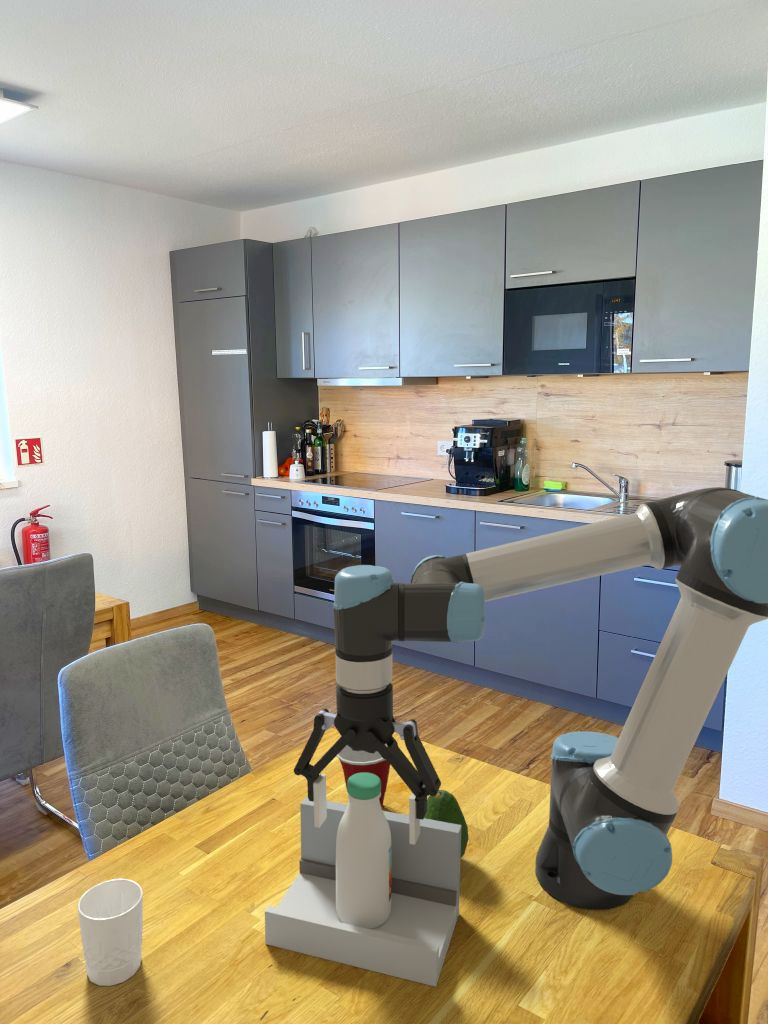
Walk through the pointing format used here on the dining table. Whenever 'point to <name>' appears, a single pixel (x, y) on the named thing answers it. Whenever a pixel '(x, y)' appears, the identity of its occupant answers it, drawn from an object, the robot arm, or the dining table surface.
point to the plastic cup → (365, 766)
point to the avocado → (447, 813)
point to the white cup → (111, 930)
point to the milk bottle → (363, 856)
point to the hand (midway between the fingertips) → (366, 830)
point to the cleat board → (414, 900)
